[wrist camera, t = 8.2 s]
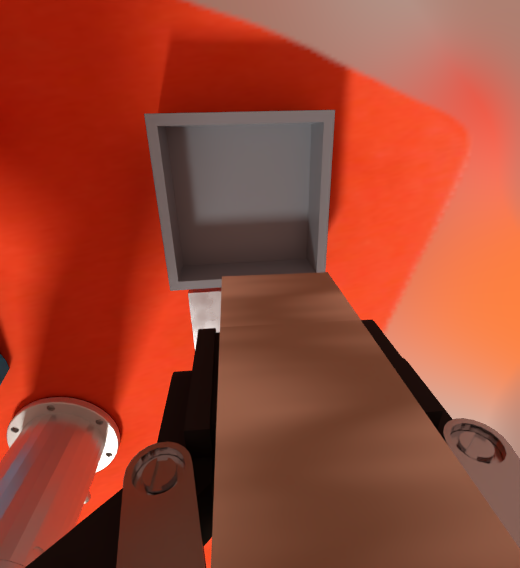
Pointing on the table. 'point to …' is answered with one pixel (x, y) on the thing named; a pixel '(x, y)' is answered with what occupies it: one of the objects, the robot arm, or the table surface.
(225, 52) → the table surface
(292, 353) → the strut
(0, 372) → the lever
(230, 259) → the bin
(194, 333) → the square lid with knob
